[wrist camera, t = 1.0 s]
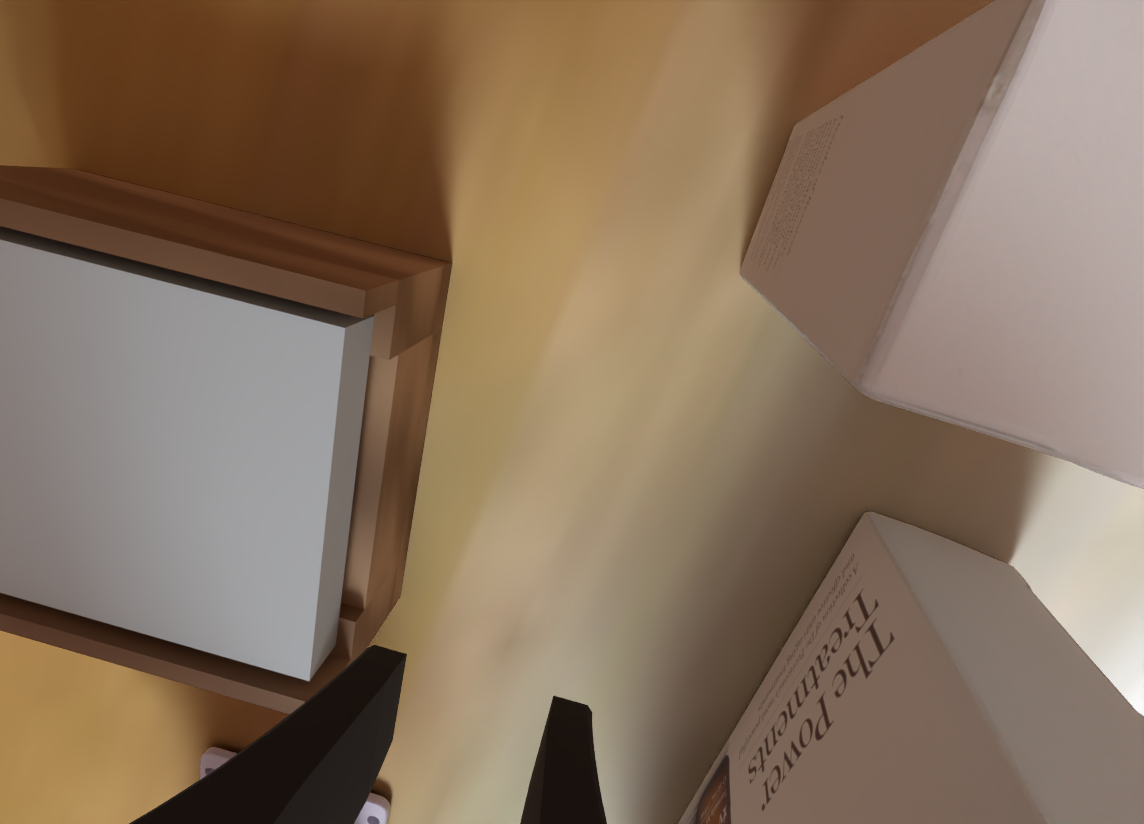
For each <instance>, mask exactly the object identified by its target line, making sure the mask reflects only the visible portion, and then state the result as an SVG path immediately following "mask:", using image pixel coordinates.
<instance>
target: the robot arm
mask: <svg viewBox="0 0 1144 824" xmlns="http://www.w3.org/2000/svg"><path fill="white" fill-rule="evenodd" d="M406 656H407V654H404V653H401V652H397V651H394V650H390V649H387V648H383V647H380V646H376V645H373V646H371V647H369V648H367V649H366V650H365V651H364V652H363V653H362V654H361V655H360V656H358V657H357V658H356V659H355V660H354V661H353V662H352V663H351V664H350V665H348V666H347V667H346V668H345V669H344V670H343V671H342V672H341V673H339V674H338V675H337V676H336V677H335V678H334V679H333V680H331V681H330V682H329V683H328V684H327V685H325V686H324V687H323V688H322V689H321V690H319V691H318V692H317V693H316V694H315V695H314V696H312V697H311V698H310V699H309V700H307V701H306V702H305V703H304V704H302V705H301V706H300V707H299V708H297V709H296V710H295V711H294V712H292V713H291V714H290V715H289V716H287V717H286V718H285V719H283V720H282V721H281V722H280V723H278V724H277V725H276V726H275V727H273V728H272V729H271V730H269V731H268V732H267V733H265V734H264V735H263V736H261V737H260V738H259V739H257V740H256V741H254V742H253V743H252V744H250V745H249V746H247V747H246V748H245V749H243V750H242V751H240V752H239V753H234V752H231V751H228V750H224V749H221V748H217V747H211V748H208V749H207V750H206V751H205V753H204V754H203V755H202V756H201V761H200V780H199V781H197V782H196V783H194V784H193V785H191V786H190V787H188V788H187V789H185V790H184V791H182V792H180V793H179V794H177V795H176V796H174V797H172V798H171V799H169V800H168V801H166V802H164V803H163V804H161V805H160V806H158V807H156V808H155V809H153V810H152V811H150V812H148V813H147V814H145V815H143V816H141V817H140V818H138V819H136V820H135V821H133V822H131V823H129V824H387V823H388V817H389V811H390V804H389V802H388V800H387V799H385V798H384V797H382V796H380V795H377V794H373V793H370V792H371V789H372V787H373V785H374V783H375V780H376V778H377V776H378V773H379V771H380V769H381V766H382V764H383V762H384V759H385V757H386V754H387V752H388V750H389V747H390V745H391V743H392V740H393V734H394V728H395V722H396V716H397V710H398V704H399V698H400V692H401V686H402V680H403V674H404V668H405V662H406ZM520 824H607V822H606V817H605V812H604V807H603V803H602V798H601V792H600V786H599V781H598V774H597V767H596V760H595V752H594V743H593V731H592V711H591V710H590V708H589V707H588V705H585V704H581V703H578V702H574V701H571V700H567V699H564V698H560V697H556V696H553V700H552V703H551V707H550V711H549V714H548V718H547V722H546V725H545V729H544V733H543V736H542V740H541V744H540V747H539V751H538V755H537V758H536V762H535V766H534V769H533V773H532V777H531V780H530V784H529V789H528V793H527V797H526V802H525V806H524V810H523V814H522V819H521V823H520Z"/></svg>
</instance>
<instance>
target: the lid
mask: <svg viewBox="0 0 1144 824" xmlns="http://www.w3.org/2000/svg"><path fill="white" fill-rule="evenodd" d="M373 323H374V316H372V315H370V316H368V317H365V318H359V317H355V316H351V315H347V314H343V313H339V312H336V311H332V310H328V309H324V308H320V307H316V306H312V305H308V304H304V303H300V302H296V301H292V300H288V299H285V298H281V297H277V296H273V295H269V294H265V293H261V292H257V291H253V290H249V289H245V288H241V287H238V286H234V285H230V284H226V283H222V282H218V281H214V280H210V279H206V278H202V277H198V276H194V275H191V274H187V273H183V272H179V271H175V270H171V269H167V268H163V267H159V266H155V265H151V264H147V263H143V262H140V261H136V260H132V259H128V258H124V257H120V256H116V255H112V254H108V253H104V252H100V251H96V250H93V249H89V248H85V247H81V246H77V245H73V244H69V243H65V242H61V241H57V240H53V239H49V238H46V237H42V236H38V235H34V234H30V233H26V232H22V231H18V230H14V229H10V228H6V227H2V226H0V593H3V594H7V595H10V596H14V597H17V598H21V599H24V600H28V601H31V602H34V603H38V604H41V605H45V606H48V607H52V608H55V609H59V610H62V611H66V612H69V613H73V614H76V615H80V616H83V617H87V618H90V619H94V620H97V621H101V622H104V623H108V624H111V625H115V626H118V627H122V628H125V629H129V630H132V631H135V632H139V633H142V634H146V635H149V636H153V637H156V638H160V639H163V640H167V641H170V642H174V643H177V644H181V645H184V646H188V647H191V648H195V649H198V650H202V651H205V652H209V653H212V654H216V655H219V656H223V657H226V658H229V659H233V660H236V661H240V662H243V663H247V664H250V665H254V666H257V667H261V668H264V669H268V670H271V671H275V672H278V673H282V674H285V675H289V676H292V677H296V678H299V679H303V680H306V681H310V680H311V678H312V677H313V676H314V674H315V673H316V672H317V670H318V669H319V667H320V666H321V665H322V663H323V662H324V661H325V659H326V658H327V656H328V655H329V654H330V652H331V651H332V650H333V648H334V647H335V645H336V639H337V631H338V622H339V614H340V605H341V597H342V588H343V579H344V571H345V562H346V554H347V545H348V537H349V528H350V520H351V511H352V503H353V494H354V485H355V477H356V468H357V460H358V451H359V443H360V434H361V426H362V417H363V408H364V400H365V391H366V383H367V374H368V366H369V357H370V349H371V340H372V332H373Z"/></svg>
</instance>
